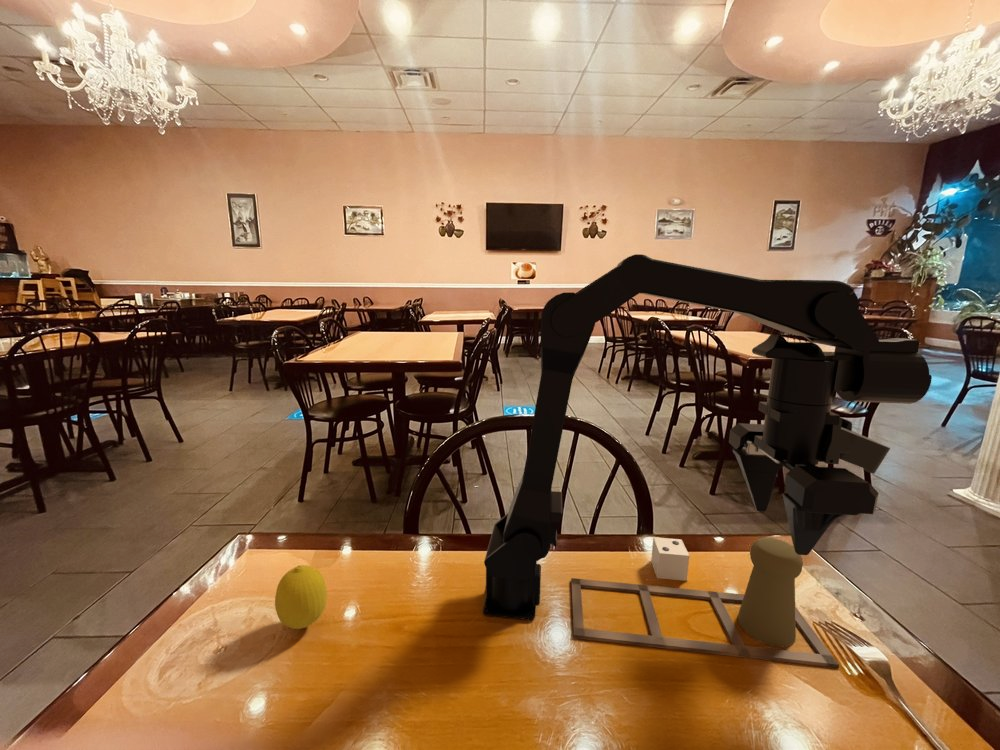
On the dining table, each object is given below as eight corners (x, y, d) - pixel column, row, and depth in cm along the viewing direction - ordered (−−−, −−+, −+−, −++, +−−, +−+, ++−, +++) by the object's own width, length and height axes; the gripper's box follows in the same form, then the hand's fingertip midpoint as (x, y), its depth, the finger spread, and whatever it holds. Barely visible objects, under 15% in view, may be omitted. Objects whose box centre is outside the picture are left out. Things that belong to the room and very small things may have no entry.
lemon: (337, 626, 51) (333, 566, 50) (289, 654, 47) (283, 589, 46) (316, 603, 55) (312, 546, 53) (270, 627, 51) (264, 567, 49)
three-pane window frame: (573, 638, 50) (574, 634, 50) (571, 580, 60) (571, 578, 59) (838, 667, 46) (839, 664, 46) (788, 601, 56) (789, 598, 56)
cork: (805, 651, 48) (820, 563, 46) (747, 642, 49) (759, 556, 47) (782, 612, 54) (794, 533, 52) (730, 605, 55) (740, 527, 53)
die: (657, 578, 60) (659, 552, 60) (651, 561, 64) (653, 536, 63) (686, 581, 60) (689, 555, 59) (678, 563, 64) (681, 539, 63)
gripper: (961, 429, 36) (925, 592, 39) (826, 384, 54) (808, 498, 57) (819, 423, 38) (794, 580, 40) (733, 381, 56) (721, 492, 59)
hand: (779, 530), depth 49 cm, fingers open, 9 cm apart
